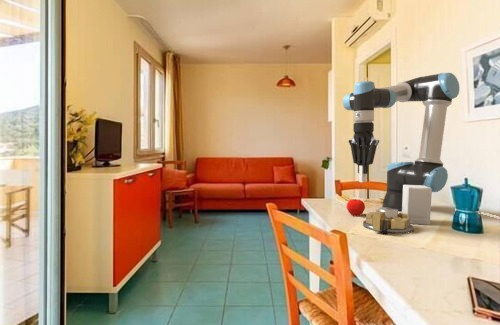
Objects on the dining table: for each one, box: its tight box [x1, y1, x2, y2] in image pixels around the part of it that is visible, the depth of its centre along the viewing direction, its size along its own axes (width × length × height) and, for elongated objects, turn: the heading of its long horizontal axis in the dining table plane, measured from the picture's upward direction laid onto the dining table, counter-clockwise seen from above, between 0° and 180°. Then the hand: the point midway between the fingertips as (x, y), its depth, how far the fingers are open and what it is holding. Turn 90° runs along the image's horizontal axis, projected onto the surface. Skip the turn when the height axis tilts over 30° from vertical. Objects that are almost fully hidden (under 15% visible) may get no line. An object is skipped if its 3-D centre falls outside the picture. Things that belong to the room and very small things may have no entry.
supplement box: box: [401, 185, 433, 226], centre depth 136 cm, size 9×9×15 cm
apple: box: [346, 198, 366, 217], centre depth 147 cm, size 8×8×7 cm
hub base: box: [362, 207, 414, 236], centre depth 127 cm, size 20×18×7 cm
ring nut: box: [365, 209, 411, 232], centre depth 126 cm, size 20×15×6 cm
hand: (362, 181), depth 130 cm, fingers closed
